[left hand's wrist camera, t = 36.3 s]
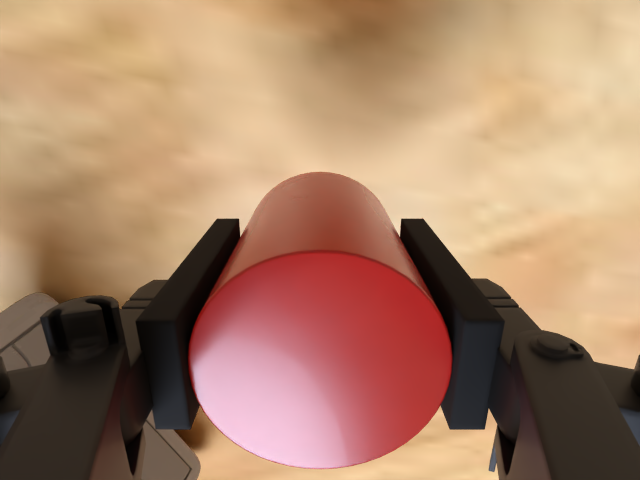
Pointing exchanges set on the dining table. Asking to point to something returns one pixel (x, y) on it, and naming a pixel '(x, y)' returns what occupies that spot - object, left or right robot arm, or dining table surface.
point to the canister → (320, 332)
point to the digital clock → (32, 350)
